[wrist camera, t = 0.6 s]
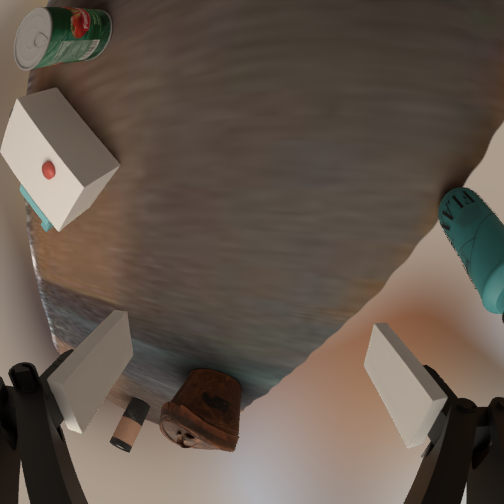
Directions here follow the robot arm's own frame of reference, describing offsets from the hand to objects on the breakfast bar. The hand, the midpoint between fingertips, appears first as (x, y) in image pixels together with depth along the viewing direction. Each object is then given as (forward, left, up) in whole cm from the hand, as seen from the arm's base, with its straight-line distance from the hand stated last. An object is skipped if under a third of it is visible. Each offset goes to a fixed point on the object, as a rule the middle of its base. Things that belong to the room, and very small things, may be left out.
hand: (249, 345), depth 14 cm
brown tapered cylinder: (+51, +8, -23) cm, 57 cm away
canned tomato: (-8, -34, -23) cm, 42 cm away
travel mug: (+94, -7, -23) cm, 97 cm away
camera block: (+10, -33, -23) cm, 41 cm away
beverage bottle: (-9, +18, -23) cm, 31 cm away
